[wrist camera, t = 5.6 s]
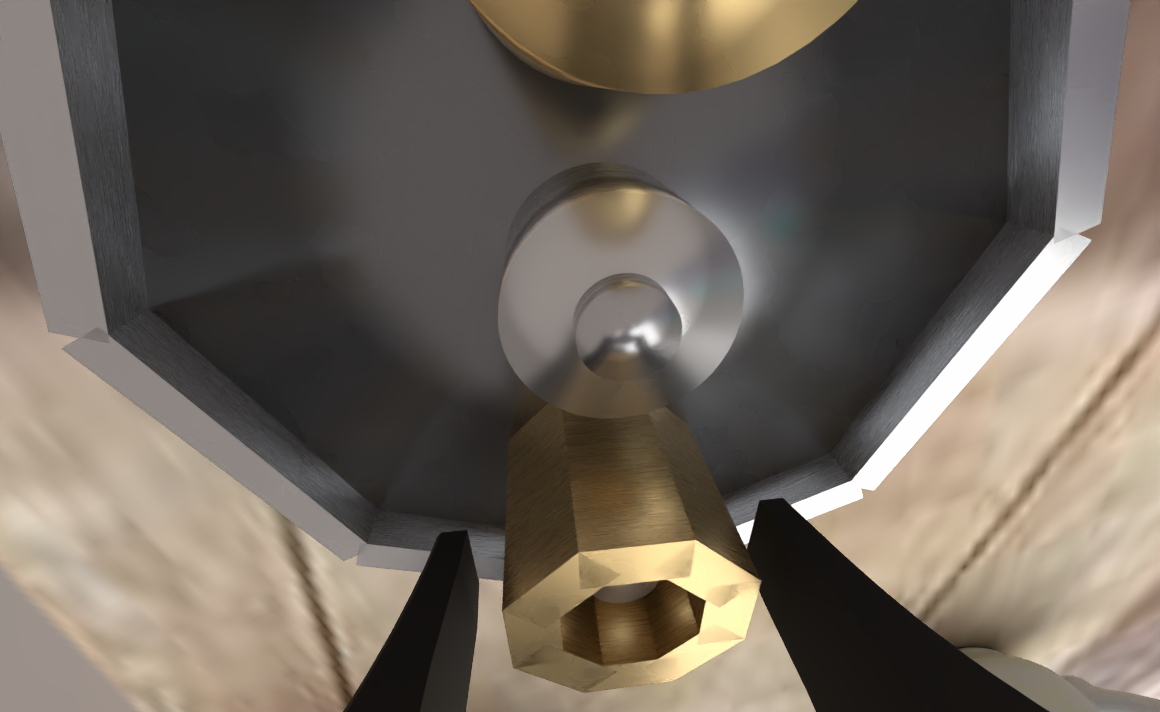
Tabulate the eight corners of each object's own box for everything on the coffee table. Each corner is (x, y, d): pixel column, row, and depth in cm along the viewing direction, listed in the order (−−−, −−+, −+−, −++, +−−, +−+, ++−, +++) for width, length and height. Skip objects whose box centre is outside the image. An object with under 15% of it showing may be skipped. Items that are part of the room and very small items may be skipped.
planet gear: (692, 380, 13) (776, 531, 9) (676, 509, 16) (734, 673, 11) (503, 395, 12) (492, 561, 8) (520, 525, 15) (519, 701, 11)
